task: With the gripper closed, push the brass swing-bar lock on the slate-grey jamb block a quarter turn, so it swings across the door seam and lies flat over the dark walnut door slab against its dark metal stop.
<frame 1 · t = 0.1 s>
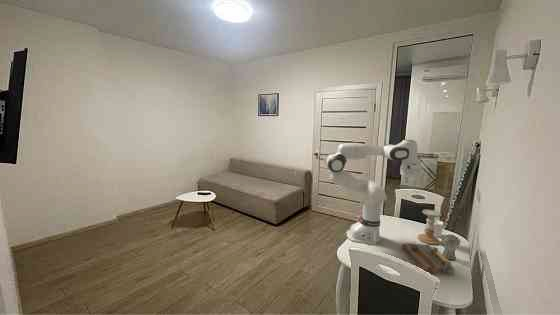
hand: (409, 184, 141), 39 cm above the table, tool pointing down, fingers open, 8 cm apart
candle holder: (428, 240, 146), on the table
lock bar: (440, 256, 118), point 6 cm above the table, hinge at 90.0°
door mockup: (425, 261, 124), on the table
white cup: (434, 235, 153), on the table
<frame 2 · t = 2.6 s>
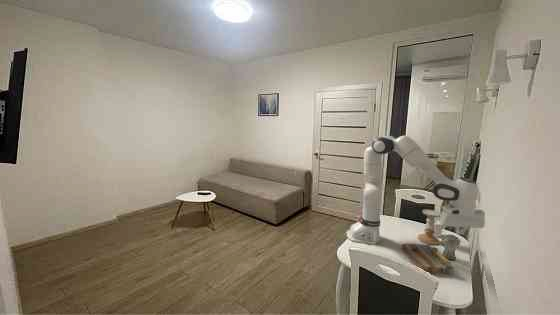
hand: (459, 234, 113), 21 cm above the table, tool pointing down, fingers closed
nothing on the table moved.
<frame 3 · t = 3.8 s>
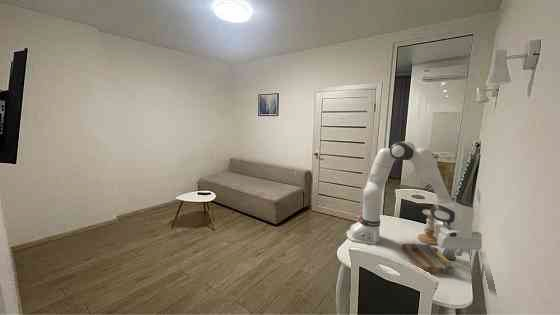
hand: (457, 255, 115), 9 cm above the table, tool pointing down, fingers closed
nothing on the table moved.
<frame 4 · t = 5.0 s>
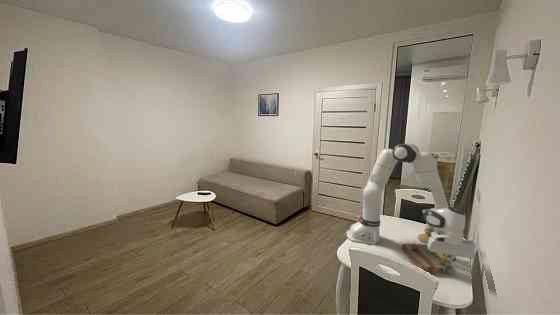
hand: (448, 261, 116), 5 cm above the table, tool pointing down, fingers closed
lock bar: (440, 256, 118), point 6 cm above the table, hinge at 89.8°, touching gripper
everything else where it was.
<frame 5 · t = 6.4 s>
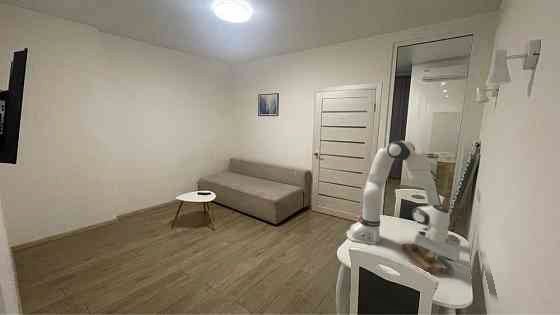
hand: (434, 259, 117), 5 cm above the table, tool pointing down, fingers closed
lock bar: (431, 254, 120), point 6 cm above the table, hinge at 43.2°, touching gripper
everything else where it was.
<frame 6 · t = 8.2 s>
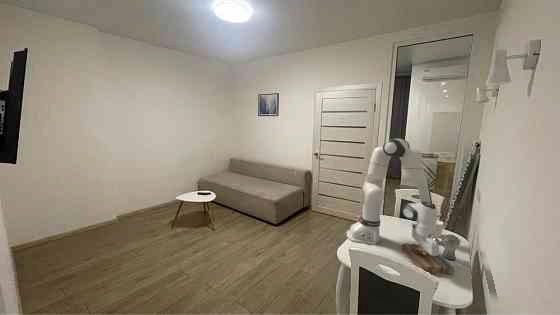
hand: (423, 253, 122), 5 cm above the table, tool pointing down, fingers closed
lock bar: (425, 250, 124), point 6 cm above the table, hinge at -0.5°, touching gripper
everything else where it was.
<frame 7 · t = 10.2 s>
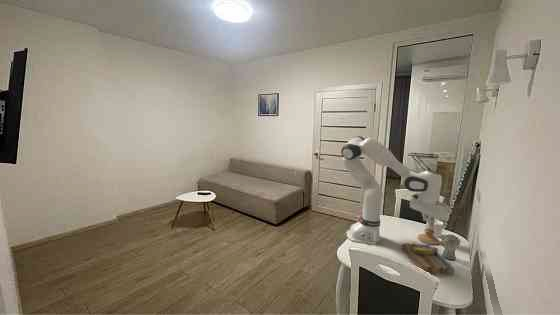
hand: (426, 221, 124), 23 cm above the table, tool pointing down, fingers closed
lock bar: (425, 250, 124), point 6 cm above the table, hinge at -0.6°
everything else where it was.
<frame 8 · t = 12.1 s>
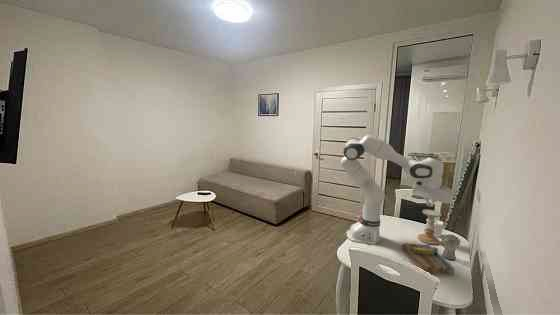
hand: (429, 206, 130), 29 cm above the table, tool pointing down, fingers closed
nothing on the table moved.
at the end: lock bar at -1° (first picture: +90°); the gripper is holding nothing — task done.
